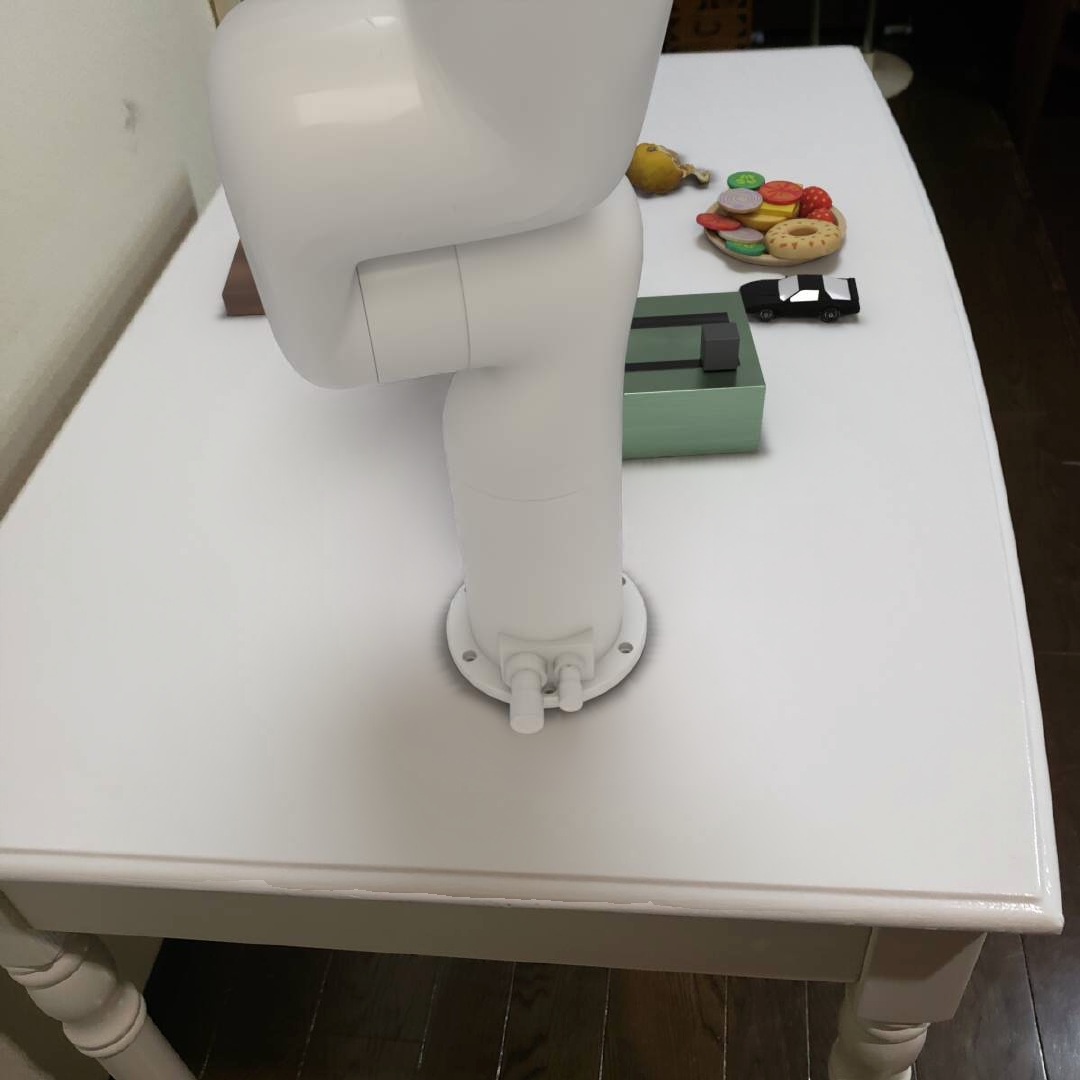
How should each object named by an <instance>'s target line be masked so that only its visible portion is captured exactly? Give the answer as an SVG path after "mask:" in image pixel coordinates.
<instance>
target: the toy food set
mask: <svg viewBox="0 0 1080 1080" xmlns="http://www.w3.org/2000/svg"><path fill="white" fill-rule="evenodd" d="M726 184H727V186H728V188H727V190H724V191H722V192H721V193H720V194H718V197H717V201H716V202H714V203H712V205H710V206H709V207H708V208H707V210H706V212H701V213H699V214H697V215H696V217H695V221H696V223H697V224H698V225H700V226H701V227H703V229H704V232H705V234H706V236H707V237H708V239H709V240H710V241H711V242H712V243H713V245H715V246H716V247H717V248H718V249H719V250H721V251H722V252H723V253H725V254H727V255H729V256H730V257H732V258H734V259H735V260H739V261H741V262H746V263H749V264H754V265H758V266H766V267H789V266H795V265H797V266H798V265H803V264H805V263H807V262H812V261H814V260H817V259H819V258H821V257H824V256H828V255H830V254H833V253H835V252H836V251H838V250H839V249H840V248H841V246H842V241H843V239H844V237H845V236H846V233H847V228H848V226H847V221H846V218H845V216H844V215H843V213H842V212H841V211H840V210H839V209H838V208H837V207H835V206H834V205H833V200H832V197H831V196H830V194H828V192H827V191H826V190H824V189H823V188H822V187H819V186H815V185H810V186H807V187H805V188H804V184H803V183H797V182H793V181H789V180H772V181H768V182H766V179H765V176H764V175H762V174H760V173H758V172H755V171H749V170H747V171H737V172H734V173H732V174H730V175H728V177H727V178H726Z"/></svg>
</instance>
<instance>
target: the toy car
mask: <svg viewBox="0 0 1080 1080" xmlns="http://www.w3.org/2000/svg"><path fill="white" fill-rule="evenodd" d="M738 291H740V294H741V297H742V301H743V304H744V308H745V312H746V315H757V318H758V320H759V321H761V322H762V323H763V322H764V323H768V322H770V321H772V320H773V319H774V318H821V317H822V320H823V321H824V322H827V323H834V322H836V321H837V320H838V319H839V318H840V316H841V317H843V316H851V315H857V314H859V313H860V312H861V305H860V304H861V303H860V296H859V291H858V286H857V281H856V278H855V277H847V278H846V277H844V278H843V277H832V276H829V275H825V274H819V273H818V274H816V273H815V274H814V273H811V274H810V273H801V274H795V275H791V276H788V275H785V277H783V278H766V279H758V280H757V279H756V280H752V281H749V282H747V283H744V284H742V285H740V286H739V290H738Z"/></svg>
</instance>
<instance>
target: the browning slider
mask: <svg viewBox="0 0 1080 1080" xmlns="http://www.w3.org/2000/svg"><path fill="white" fill-rule="evenodd" d="M739 345H740V336H739V333H738V329H737V325H736V322H731V323H714V324H702V330H701V347H700V356H701V361H702V365H703V370H704V371H705V370H722V369H737V367H738V356H739Z"/></svg>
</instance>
